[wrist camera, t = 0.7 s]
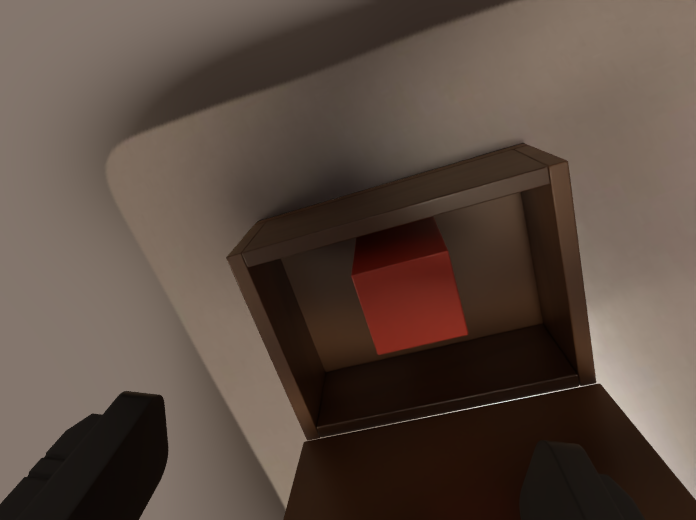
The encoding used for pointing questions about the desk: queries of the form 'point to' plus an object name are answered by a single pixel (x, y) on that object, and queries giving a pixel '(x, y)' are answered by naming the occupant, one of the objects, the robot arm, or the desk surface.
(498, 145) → the desk surface
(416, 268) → the matte red cuboid
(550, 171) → the chest
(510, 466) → the lid
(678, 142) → the desk surface
